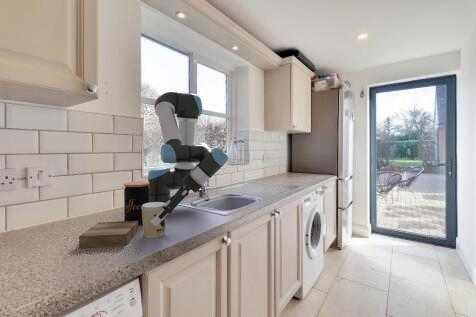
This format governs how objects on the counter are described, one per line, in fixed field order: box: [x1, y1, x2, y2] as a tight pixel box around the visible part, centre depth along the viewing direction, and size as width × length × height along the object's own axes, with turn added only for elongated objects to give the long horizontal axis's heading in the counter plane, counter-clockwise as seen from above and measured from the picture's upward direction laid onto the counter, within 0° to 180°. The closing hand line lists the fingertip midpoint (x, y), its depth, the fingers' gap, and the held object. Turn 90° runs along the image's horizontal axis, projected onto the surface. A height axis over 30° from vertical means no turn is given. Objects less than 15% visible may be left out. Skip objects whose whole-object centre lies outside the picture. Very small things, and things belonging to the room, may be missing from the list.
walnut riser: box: [78, 220, 139, 249], centre depth 86 cm, size 15×15×4 cm
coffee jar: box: [123, 181, 150, 226], centre depth 105 cm, size 11×11×18 cm
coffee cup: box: [141, 202, 167, 239], centre depth 90 cm, size 9×9×12 cm
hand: (156, 218), depth 89 cm, fingers open, 13 cm apart
